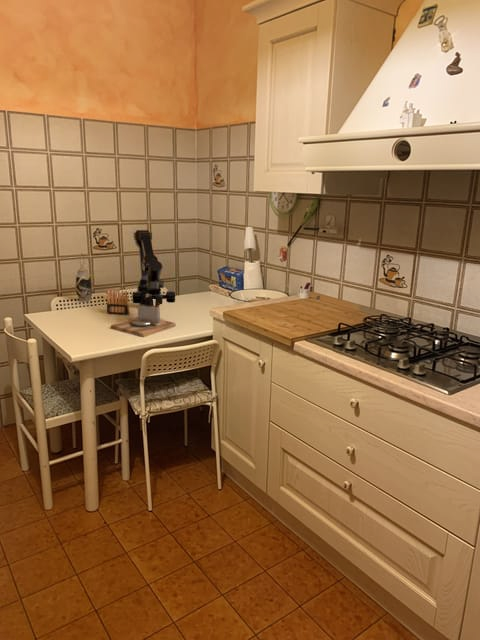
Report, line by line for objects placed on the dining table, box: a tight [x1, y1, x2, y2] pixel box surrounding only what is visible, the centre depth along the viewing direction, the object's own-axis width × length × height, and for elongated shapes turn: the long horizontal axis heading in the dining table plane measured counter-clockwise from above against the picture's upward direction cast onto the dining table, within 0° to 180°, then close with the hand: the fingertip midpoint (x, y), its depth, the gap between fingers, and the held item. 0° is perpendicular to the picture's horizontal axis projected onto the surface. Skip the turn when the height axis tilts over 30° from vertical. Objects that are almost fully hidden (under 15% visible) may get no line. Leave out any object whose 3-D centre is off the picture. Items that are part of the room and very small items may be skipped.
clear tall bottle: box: [75, 253, 93, 302], centre depth 260 cm, size 9×8×25 cm
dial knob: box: [132, 303, 161, 326], centre depth 216 cm, size 13×10×8 cm
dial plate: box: [110, 316, 177, 338], centre depth 218 cm, size 20×20×2 cm
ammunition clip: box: [106, 289, 130, 316], centre depth 237 cm, size 11×2×12 cm, turn 83°
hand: (154, 313), depth 216 cm, fingers closed
